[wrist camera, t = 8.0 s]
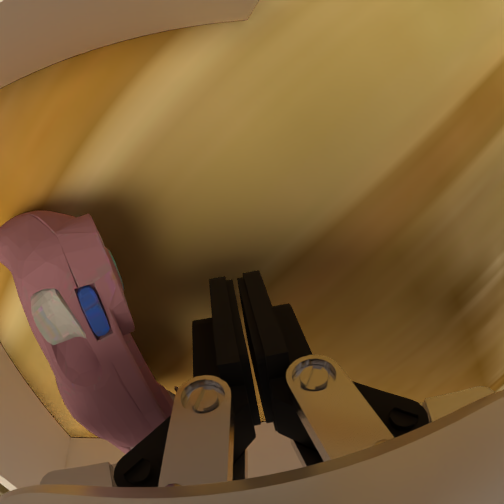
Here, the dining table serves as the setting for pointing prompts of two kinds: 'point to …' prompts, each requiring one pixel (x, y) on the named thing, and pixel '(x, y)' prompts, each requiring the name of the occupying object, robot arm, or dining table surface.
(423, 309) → the dining table surface
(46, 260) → the video game controller
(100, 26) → the bin
